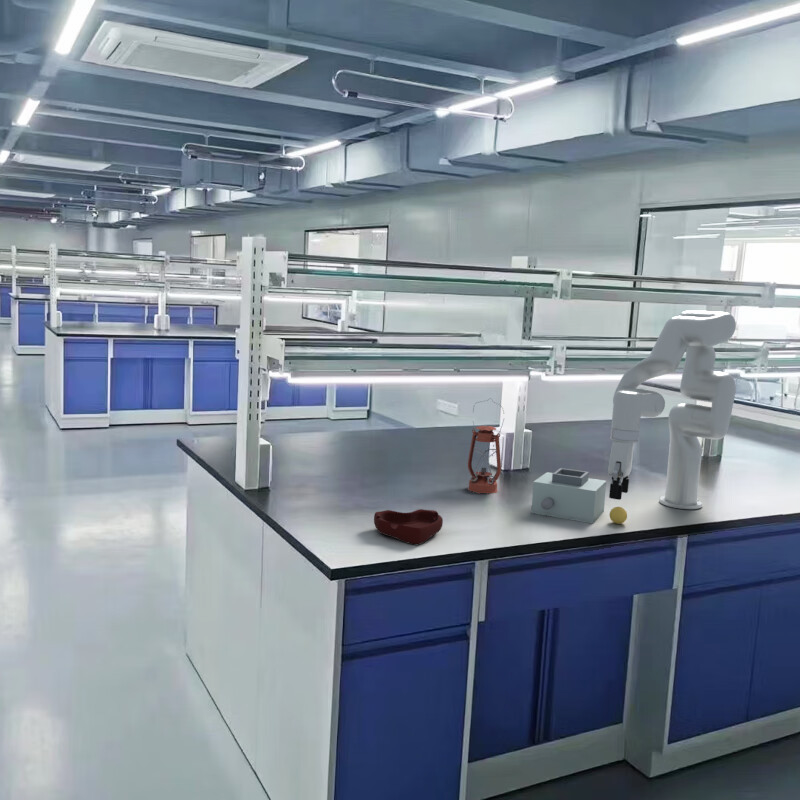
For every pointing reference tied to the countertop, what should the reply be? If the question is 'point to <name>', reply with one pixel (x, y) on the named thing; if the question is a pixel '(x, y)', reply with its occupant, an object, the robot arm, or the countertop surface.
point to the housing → (569, 495)
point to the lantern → (483, 479)
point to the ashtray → (409, 524)
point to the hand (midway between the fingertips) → (618, 495)
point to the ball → (618, 515)
